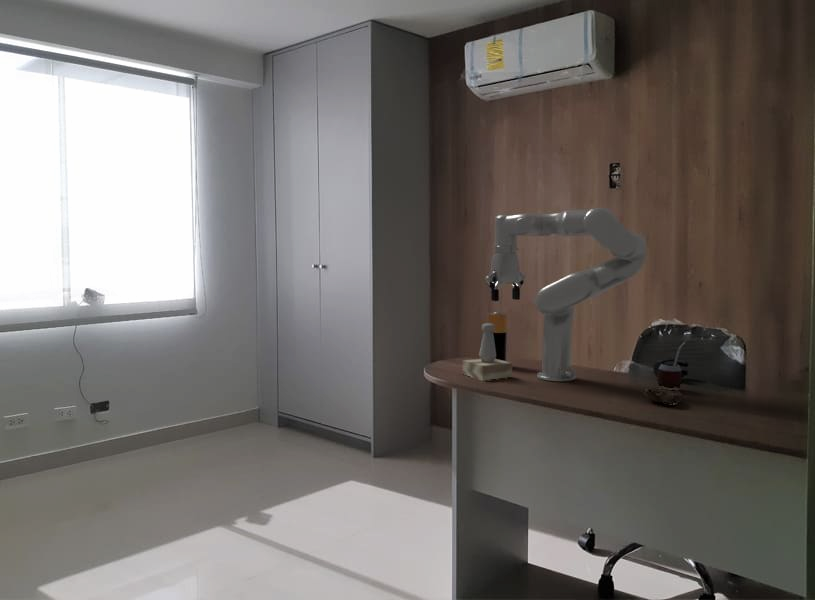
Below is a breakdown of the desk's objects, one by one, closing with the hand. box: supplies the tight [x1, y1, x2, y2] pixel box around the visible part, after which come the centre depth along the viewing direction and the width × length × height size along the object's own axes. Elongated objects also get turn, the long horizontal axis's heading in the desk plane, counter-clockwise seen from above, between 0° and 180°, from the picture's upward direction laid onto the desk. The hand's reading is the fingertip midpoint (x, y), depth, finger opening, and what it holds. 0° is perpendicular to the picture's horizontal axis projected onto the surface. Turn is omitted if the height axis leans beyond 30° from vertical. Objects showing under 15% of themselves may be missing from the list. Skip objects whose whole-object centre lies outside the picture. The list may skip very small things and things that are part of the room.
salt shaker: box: [478, 323, 496, 363], centre depth 231 cm, size 6×6×13 cm
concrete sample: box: [643, 386, 683, 405], centre depth 195 cm, size 12×10×5 cm
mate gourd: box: [657, 341, 687, 389], centre depth 212 cm, size 8×8×15 cm
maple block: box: [461, 358, 513, 382], centre depth 232 cm, size 12×12×5 cm
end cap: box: [653, 357, 689, 382], centre depth 229 cm, size 10×7×7 cm
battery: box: [486, 311, 508, 362], centre depth 250 cm, size 7×7×20 cm
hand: (505, 300), depth 237 cm, fingers open, 9 cm apart
